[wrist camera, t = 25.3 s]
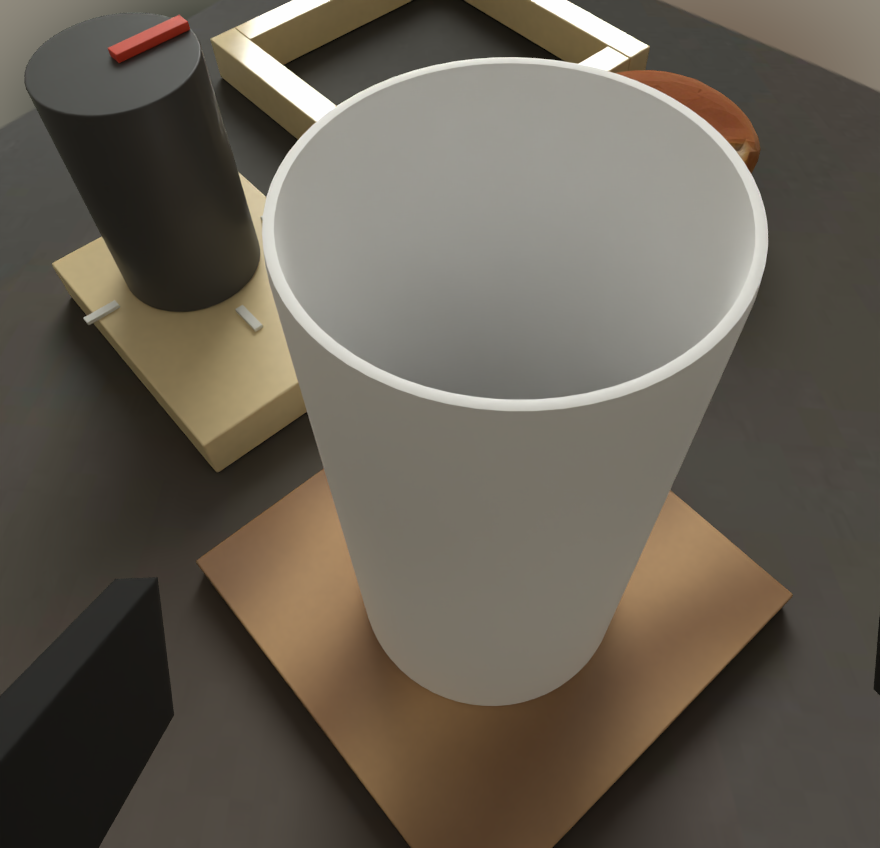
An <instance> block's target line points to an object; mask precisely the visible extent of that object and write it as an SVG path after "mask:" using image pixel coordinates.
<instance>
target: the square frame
mask: <svg viewBox="0 0 880 848" xmlns="http://www.w3.org/2000/svg"><path fill="white" fill-rule="evenodd" d="M410 1H412V0H292V1H290V2H288V3H286V4H284V5H282V6H280V7H277V8H275V9H273V10H271V11H269V12H267V13H265V14H263V15H260V16H258V17H256V18H254V19H252V20H250V21H248V22H245V23H243V24H241V25H239V26H237V27H235V28H233V29H230V30H228V31H226V32H224V33H222V34H220V35H218V36H215V37H213V38H211V43H212V47H213V50H214V54H215V57H216V61H217V64H218V68H219V72H220V75H221V77H222V78H223V79H224V80H226V81H227V82H228V83H229V84H231V85H232V86H233V87H234V88H235V89H237V90H238V91H239V92H240V93H242V94H243V95H244V96H245V97H246V98H248V99H249V100H250V101H251V102H253V103H254V104H255V105H256V106H257V107H259V108H260V109H261V110H262V111H263V112H265V113H266V114H267V115H268V116H270V117H271V118H272V119H273V120H274V121H276V122H277V123H278V124H279V125H281V126H282V127H283V128H284V129H285V130H287V131H288V132H289V133H290V134H292V135H293V136H294V137H295V138H296V139H298V140H299V138H300V137H301V136H302V135H303V134H304V133H305V132H306V131H307V130H308V129H309V128H310V127H311V126H312V125H313V124H315V123H316V122H317V121H318V120H319V119H320V118H322V117H323V116H324V115H325V114H326V113H328V112H329V111H331V110H332V109H334V108H335V107H336V105H335V104H333V103H332V102H331V101H329V100H328V99H327V98H325V97H324V96H323V95H322V94H320V93H319V92H318V91H316V90H315V89H314V88H312V87H311V86H310V85H308V84H307V83H306V82H304V81H303V80H302V79H301V78H299V77H298V76H297V75H295V74H294V73H293V72H291V71H290V70H289V69H287V68H286V67H285V66H283V65H284V64H286V63H288V62H290V61H292V60H294V59H296V58H298V57H300V56H302V55H304V54H306V53H308V52H310V51H312V50H314V49H316V48H318V47H320V46H322V45H324V44H326V43H328V42H330V41H332V40H334V39H336V38H338V37H340V36H342V35H344V34H346V33H348V32H350V31H352V30H354V29H356V28H358V27H360V26H362V25H364V24H366V23H368V22H370V21H372V20H374V19H376V18H378V17H380V16H382V15H384V14H386V13H388V12H390V11H392V10H394V9H396V8H398V7H400V6H402V5H404V4H406V3H408V2H410ZM464 1H466V2H467V3H469V4H471V5H472V6H474V7H476V8H477V9H479V10H481V11H482V12H484V13H486V14H487V15H489V16H491V17H492V18H494V19H496V20H497V21H499V22H501V23H502V24H504V25H505V26H507V27H509V28H510V29H512V30H514V31H515V32H517V33H519V34H520V35H522V36H524V37H525V38H527V39H529V40H530V41H532V42H534V43H535V44H537V45H539V46H540V47H542V48H544V49H545V50H547V51H549V52H550V53H552V54H554V55H555V56H557V57H559V58H560V59H562V60H564V61H565V62H570V63H576V64H581V65H586V66H590V67H595V68H599V69H602V70H606V71H609V72H613V73H618V72H623V71H633V70H645V68H646V64H647V59H648V54H649V49H650V46H648V45H646V44H645V43H643V42H641V41H639V40H637V39H636V38H634V37H632V36H630V35H628V34H627V33H625V32H623V31H621V30H619V29H618V28H616V27H614V26H612V25H611V24H609V23H607V22H605V21H603V20H602V19H600V18H598V17H596V16H594V15H593V14H591V13H589V12H587V11H585V10H584V9H582V8H580V7H578V6H576V5H575V4H573V3H571V2H569V1H567V0H464Z"/></svg>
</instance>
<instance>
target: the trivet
mask: <svg viewBox="0 0 880 848" xmlns="http://www.w3.org/2000/svg"><path fill="white" fill-rule="evenodd" d="M196 563H197V564H198V566H199V567H200V569H201V570H202V571H203V573H204V574H205V576H206V577H207V578H208V579H209V581H210V582H211V583H212V585H213V586H214V587H215V589H216V590H217V591H218V593H219V594H220V595H221V597H222V598H223V599H224V601H225V602H226V603H227V605H228V606H229V607H230V609H231V610H232V611H233V613H234V614H235V615H236V617H237V618H238V619H239V621H240V622H241V623H242V625H243V626H244V627H245V629H246V630H247V631H248V633H249V634H250V635H251V637H252V638H253V639H254V641H255V642H256V643H257V645H258V646H259V647H260V649H261V650H262V651H263V652H264V654H265V655H266V656H267V658H268V659H269V660H270V662H271V663H272V664H273V666H274V667H275V668H276V670H277V671H278V672H279V674H280V675H281V676H282V678H283V679H284V680H285V682H286V683H287V684H288V686H289V687H290V688H291V690H292V691H293V692H294V694H295V695H296V696H297V698H298V699H299V700H300V702H301V703H302V704H303V706H304V707H305V708H306V710H307V711H308V712H309V714H310V715H311V716H312V718H313V719H314V720H315V722H316V723H317V724H318V725H319V727H320V728H321V729H322V731H323V732H324V733H325V735H326V736H327V737H328V739H329V740H330V741H331V743H332V744H333V745H334V747H335V748H336V749H337V751H338V752H339V753H340V755H341V756H342V757H343V759H344V760H345V761H346V763H347V764H348V765H349V767H350V768H351V769H352V771H353V772H354V773H355V775H356V776H357V777H358V779H359V780H360V781H361V783H362V784H363V785H364V787H365V788H366V789H367V791H368V792H369V793H370V795H371V796H372V797H373V798H374V800H375V801H376V802H377V804H378V805H379V806H380V808H381V809H382V810H383V812H384V813H385V814H386V816H387V817H388V818H389V820H390V821H391V822H392V824H393V825H394V826H395V828H396V829H397V830H398V832H399V833H400V834H401V836H402V837H403V838H404V840H405V841H406V842H407V844H408V845H409V846H410V848H553V847H554V846H555V845H556V843H557V842H558V841H559V840H560V839H561V838H562V837H563V836H564V835H565V834H566V833H567V832H568V831H569V830H570V829H571V828H572V827H573V826H574V825H575V824H576V823H577V822H578V820H579V819H580V818H581V817H582V816H583V815H584V814H585V813H586V812H587V811H588V810H589V809H590V808H591V807H592V806H593V805H594V804H595V803H596V802H597V801H598V800H599V799H600V797H601V796H602V795H603V794H604V793H605V792H606V791H607V790H608V789H609V788H610V787H611V786H612V785H613V784H614V783H615V782H616V781H617V780H618V779H619V778H620V777H621V776H622V774H623V773H624V772H625V771H626V770H627V769H628V768H629V767H630V766H631V765H632V764H633V763H634V762H635V761H636V760H637V759H638V758H639V757H640V756H641V755H642V754H643V752H644V751H645V750H646V749H647V748H648V747H649V746H650V745H651V744H652V743H653V742H654V741H655V740H656V739H657V738H658V737H659V736H660V735H661V734H662V733H663V732H664V731H665V729H666V728H667V727H668V726H669V725H670V724H671V723H672V722H673V721H674V720H675V719H676V718H677V717H678V716H679V715H680V714H681V713H682V712H683V711H684V710H685V709H686V708H687V706H688V705H689V704H690V703H691V702H692V701H693V700H694V699H695V698H696V697H697V696H698V695H699V694H700V693H701V692H702V691H703V690H704V689H705V688H706V687H707V686H708V685H709V683H710V682H711V681H712V680H713V679H714V678H715V677H716V676H717V675H718V674H719V673H720V672H721V671H722V670H723V669H724V668H725V667H726V666H727V665H728V664H729V663H730V661H731V660H732V659H733V658H734V657H735V656H736V655H737V654H738V653H739V652H740V651H741V650H742V649H743V648H744V647H745V646H746V645H747V644H748V643H749V642H750V641H751V640H752V638H753V637H754V636H755V635H756V634H757V633H758V632H759V631H760V630H761V629H762V628H763V627H764V626H765V625H766V624H767V623H768V622H769V621H770V620H771V619H772V618H773V617H774V615H775V614H776V613H777V612H778V611H779V610H780V609H781V608H782V607H783V606H784V605H785V604H786V603H787V602H788V601H789V600H790V599H791V598H792V596H793V595H792V593H791V592H789V591H788V590H787V589H786V588H785V587H783V586H782V585H781V584H780V583H779V582H778V581H776V580H775V579H774V578H773V577H772V576H771V575H769V574H768V573H767V572H766V571H765V570H763V569H762V568H761V567H760V566H759V565H758V564H756V563H755V562H754V561H753V560H752V559H751V558H749V557H748V556H747V555H746V554H745V553H743V552H742V551H741V550H740V549H739V548H738V547H736V546H735V545H734V544H733V543H732V542H731V541H729V540H728V539H727V538H726V537H725V536H723V535H722V534H721V533H720V532H719V531H718V530H716V529H715V528H714V527H713V526H712V525H711V524H709V523H708V522H707V521H706V520H705V519H703V518H702V517H701V516H700V515H699V514H698V513H696V512H695V511H694V510H693V509H692V508H691V507H689V506H688V505H687V504H686V503H685V502H683V501H682V500H681V499H680V498H679V497H678V496H676V495H675V494H674V493H673V492H672V491H671V490H670V491H669V493H668V496H667V498H666V500H665V502H664V504H663V507H662V509H661V511H660V513H659V516H658V518H657V520H656V522H655V524H654V527H653V529H652V531H651V533H650V536H649V538H648V540H647V542H646V544H645V547H644V549H643V551H642V553H641V555H640V558H639V560H638V562H637V564H636V567H635V569H634V571H633V573H632V575H631V578H630V580H629V582H628V584H627V586H626V589H625V591H624V593H623V595H622V598H621V600H620V602H619V604H618V606H617V609H616V611H615V613H614V615H613V617H612V620H611V622H610V624H609V626H608V629H607V631H606V633H605V635H604V637H603V640H602V642H601V643H600V645H599V647H598V649H597V650H596V652H595V653H594V655H593V656H592V657H591V659H590V660H589V661H588V663H587V664H586V665H585V666H584V667H583V668H582V669H581V670H580V671H579V672H578V673H577V674H576V675H575V676H573V677H572V678H571V679H570V680H569V681H567V682H566V683H564V684H563V685H561V686H560V687H558V688H557V689H555V690H553V691H551V692H549V693H547V694H545V695H543V696H540V697H538V698H536V699H532V700H529V701H526V702H522V703H517V704H512V705H503V706H480V705H471V704H466V703H461V702H457V701H454V700H451V699H447V698H444V697H442V696H440V695H438V694H435V693H433V692H431V691H429V690H428V689H426V688H424V687H422V686H421V685H419V684H418V683H416V682H415V681H413V680H412V679H411V678H409V677H408V676H407V675H406V674H405V673H404V672H402V671H401V670H400V669H399V668H398V667H397V666H396V664H395V663H394V662H393V661H392V660H391V659H390V657H389V656H388V655H387V654H386V652H385V651H384V649H383V648H382V646H381V645H380V643H379V641H378V640H377V638H376V635H375V633H374V631H373V629H372V627H371V624H370V621H369V618H368V615H367V612H366V608H365V605H364V602H363V598H362V595H361V592H360V588H359V585H358V581H357V578H356V575H355V571H354V568H353V565H352V561H351V558H350V555H349V551H348V548H347V544H346V541H345V538H344V534H343V531H342V528H341V524H340V521H339V518H338V514H337V511H336V507H335V504H334V501H333V497H332V494H331V491H330V487H329V484H328V481H327V477H326V474H325V470H324V469H322V470H321V471H320V472H318V473H317V474H315V475H314V476H313V477H311V478H310V479H309V480H307V481H306V482H304V483H303V484H302V485H300V486H299V487H297V488H296V489H295V490H293V491H292V492H291V493H289V494H288V495H286V496H285V497H284V498H282V499H281V500H279V501H278V502H277V503H275V504H274V505H273V506H271V507H270V508H268V509H267V510H266V511H264V512H263V513H261V514H260V515H259V516H257V517H256V518H254V519H253V520H252V521H250V522H249V523H248V524H246V525H245V526H243V527H242V528H241V529H239V530H238V531H236V532H235V533H234V534H232V535H231V536H230V537H228V538H227V539H225V540H224V541H223V542H221V543H220V544H218V545H217V546H216V547H214V548H213V549H212V550H210V551H209V552H207V553H206V554H205V555H203V556H202V557H200V558H199V559H198V560H197V561H196Z"/></svg>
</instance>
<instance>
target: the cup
mask: <svg viewBox="0 0 880 848" xmlns="http://www.w3.org/2000/svg"><path fill="white" fill-rule="evenodd" d="M262 240H263V251H264V258H265V266H266V271H267V275H268V280H269V284H270V288H271V291H272V294H273V298H274V301H275V305H276V308H277V312H278V315H279V318H280V322H281V325H282V329H283V332H284V335H285V339H286V342H287V346H288V349H289V352H290V356H291V359H292V363H293V366H294V370H295V373H296V376H297V380H298V383H299V386H300V390H301V393H302V397H303V400H304V403H305V407H306V410H307V413H308V417H309V420H310V423H311V427H312V430H313V433H314V437H315V440H316V444H317V447H318V450H319V454H320V457H321V460H322V464H323V467H324V470H325V474H326V477H327V481H328V484H329V487H330V491H331V494H332V497H333V501H334V504H335V507H336V511H337V514H338V518H339V521H340V524H341V528H342V531H343V534H344V538H345V541H346V544H347V548H348V551H349V555H350V558H351V561H352V565H353V568H354V571H355V575H356V578H357V581H358V585H359V588H360V592H361V595H362V598H363V602H364V605H365V608H366V612H367V615H368V618H369V621H370V624H371V627H372V629H373V631H374V633H375V635H376V638H377V640H378V641H379V643H380V645H381V646H382V648H383V649H384V651H385V652H386V654H387V655H388V656H389V657H390V659H391V660H392V661H393V662H394V663H395V664H396V666H397V667H398V668H399V669H400V670H401V671H402V672H404V673H405V674H406V675H407V676H408V677H409V678H411V679H412V680H413V681H415V682H416V683H418V684H419V685H421V686H422V687H424V688H426V689H428V690H429V691H431V692H433V693H435V694H438V695H440V696H442V697H444V698H447V699H451V700H454V701H457V702H461V703H466V704H471V705H480V706H503V705H512V704H517V703H522V702H526V701H529V700H532V699H536V698H538V697H540V696H543V695H545V694H547V693H549V692H551V691H553V690H555V689H557V688H558V687H560V686H561V685H563V684H564V683H566V682H567V681H569V680H570V679H571V678H572V677H573V676H575V675H576V674H577V673H578V672H579V671H580V670H581V669H582V668H583V667H584V666H585V665H586V664H587V663H588V661H589V660H590V659H591V657H592V656H593V655H594V653H595V652H596V650H597V649H598V647H599V645H600V643H601V642H602V640H603V637H604V635H605V633H606V631H607V629H608V626H609V624H610V622H611V620H612V617H613V615H614V613H615V611H616V609H617V606H618V604H619V602H620V600H621V598H622V595H623V593H624V591H625V589H626V586H627V584H628V582H629V580H630V578H631V575H632V573H633V571H634V569H635V567H636V564H637V562H638V560H639V558H640V555H641V553H642V551H643V549H644V547H645V544H646V542H647V540H648V538H649V536H650V533H651V531H652V529H653V527H654V524H655V522H656V520H657V518H658V516H659V513H660V511H661V509H662V507H663V504H664V502H665V500H666V498H667V496H668V493H669V491H670V489H671V487H672V485H673V482H674V480H675V478H676V476H677V473H678V471H679V469H680V467H681V465H682V462H683V460H684V458H685V456H686V454H687V451H688V449H689V447H690V445H691V442H692V440H693V438H694V436H695V434H696V431H697V429H698V427H699V425H700V423H701V420H702V418H703V416H704V414H705V411H706V409H707V407H708V405H709V403H710V400H711V398H712V396H713V394H714V392H715V389H716V387H717V385H718V383H719V380H720V378H721V376H722V374H723V371H724V369H725V367H726V365H727V362H728V360H729V358H730V356H731V353H732V351H733V349H734V347H735V345H736V342H737V340H738V338H739V336H740V333H741V331H742V329H743V327H744V324H745V322H746V320H747V318H748V315H749V313H750V311H751V309H752V306H753V304H754V302H755V299H756V296H757V293H758V289H759V286H760V282H761V279H762V275H763V271H764V268H765V264H766V257H767V250H768V226H767V219H766V213H765V208H764V205H763V201H762V198H761V195H760V192H759V190H758V188H757V185H756V183H755V181H754V178H753V177H752V175H751V173H750V171H749V170H748V168H747V166H746V165H745V163H744V161H743V160H742V159H741V157H740V156H739V155H738V153H737V152H736V151H735V149H734V148H733V147H732V146H731V145H730V144H729V143H728V141H727V140H726V139H725V138H724V137H723V136H722V135H721V134H720V133H719V132H718V131H717V130H716V129H715V128H713V127H712V126H711V125H710V124H709V123H708V122H707V121H706V120H704V119H703V118H701V117H700V116H699V115H697V114H696V113H695V112H693V111H692V110H691V109H689V108H688V107H686V106H685V105H683V104H681V103H680V102H678V101H677V100H675V99H673V98H671V97H670V96H668V95H666V94H664V93H662V92H660V91H658V90H656V89H654V88H652V87H650V86H647V85H645V84H643V83H640V82H638V81H636V80H633V79H630V78H627V77H625V76H622V75H619V74H616V73H613V72H609V71H606V70H602V69H599V68H595V67H590V66H586V65H581V64H576V63H570V62H564V61H558V60H549V59H539V58H520V57H501V58H482V59H470V60H463V61H455V62H449V63H444V64H439V65H434V66H430V67H426V68H422V69H418V70H414V71H411V72H408V73H405V74H402V75H399V76H396V77H393V78H390V79H388V80H386V81H383V82H381V83H378V84H376V85H374V86H372V87H370V88H368V89H366V90H363V91H361V92H359V93H357V94H356V95H354V96H352V97H351V98H349V99H347V100H346V101H344V102H342V103H341V104H339V105H338V106H336V107H335V108H334V109H332V110H331V111H329V112H328V113H326V114H325V115H324V116H323V117H322V118H320V119H319V120H318V121H317V122H316V123H315V124H313V125H312V126H311V127H310V128H309V129H308V130H307V131H306V132H305V133H304V134H303V135H302V136H301V137H300V138H299V140H298V141H297V142H296V143H295V145H294V146H293V147H292V148H291V150H290V151H289V152H288V154H287V155H286V157H285V158H284V160H283V161H282V163H281V165H280V166H279V168H278V170H277V172H276V174H275V176H274V178H273V180H272V182H271V185H270V188H269V191H268V194H267V197H266V202H265V207H264V212H263V221H262Z"/></svg>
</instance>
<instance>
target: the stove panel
mask: <svg viewBox="0 0 880 848" xmlns="http://www.w3.org/2000/svg"><path fill="white" fill-rule="evenodd" d="M238 173H239V172H238ZM239 177H240V180H241V184H242V187H243V190H244V194H245V197H246V201H247V204H248V207H249V211H250V214H251V218H252V221H253V224H254V228H255V231H256V235H257V238H258V241H259V246H260V261H259V264H258V267H257V270H256V272H255V273H254V275H253V277H252V278H251V280H250V281H249V282H248V283H247V284H246V285H245V287H243V288H242V289H241V290H240V291H239V292H238V293H236V294H235V295H233V296H232V297H231V298H229V299H227V300H225V301H223V302H221V303H219V304H217V305H214V306H211V307H208V308H205V309H201V310H196V311H188V312H172V311H165V310H160V309H156V308H153V307H151V306H149V305H147V304H145V303H143V302H142V301H140V300H139V299H137V298H136V297H135V296H134V295H133V294H132V292H131V291H130V290H129V288H128V286H127V284H126V282H125V280H124V278H123V276H122V274H121V272H120V270H119V268H118V267H117V265H116V263H115V261H114V259H113V257H112V255H111V253H110V251H109V249H108V247H107V245H106V243H105V241H104V239H103V237H100V238H98V239H96V240H95V241H93V242H91V243H89V244H87V245H85V246H83V247H82V248H80V249H78V250H76V251H74V252H72V253H70V254H68V255H67V256H65V257H63V258H61V259H59V260H57V261H55V262H54V263H52V266H53V268H54V270H55V271H56V273H57V274H58V276H59V278H60V279H61V281H62V283H63V284H64V286H65V288H66V289H67V291H68V292H69V294H70V296H71V297H72V298H73V299H74V300H75V302H76V303H77V304H78V305H79V307H80V308H81V309H82V310H83V311H84V313H85V314H86V315H87V316H86V317H84V318H83V319H84V320H85V322H86V323H87V324H88V325H90V324H92V323H93V324H94V325H95V326H96V327H97V328H98V330H99V331H100V332H101V333H102V334H103V336H104V337H105V338H106V339H107V340H108V342H109V343H110V344H111V345H112V347H113V348H114V349H115V350H116V351H117V353H118V354H119V355H120V356H121V357H122V359H123V360H124V361H125V362H126V364H127V365H128V366H129V367H130V368H131V370H132V371H133V372H134V373H135V374H136V376H137V377H138V378H139V379H140V380H141V382H142V383H143V384H144V385H145V387H146V388H147V389H148V390H149V391H150V393H151V394H152V395H153V396H154V397H155V399H156V400H157V401H158V402H159V404H160V405H161V406H162V407H163V408H164V410H165V411H166V412H167V413H168V414H169V416H170V417H171V418H172V419H173V420H174V422H175V423H176V424H177V425H178V427H179V428H180V429H181V430H182V431H183V433H184V434H185V435H186V436H187V437H188V439H189V440H190V441H191V442H192V443H193V445H194V446H195V447H196V448H197V450H198V451H199V452H200V453H201V454H202V456H203V457H204V458H205V459H206V460H207V462H208V463H209V464H210V465H211V467H212V468H213V469H214V470H215V471H216V472H220V471H221V470H223V469H224V468H226V467H227V466H228V465H230V464H231V463H233V462H234V461H236V460H237V459H239V458H240V457H242V456H243V455H245V454H246V453H247V452H249V451H250V450H252V449H253V448H255V447H256V446H258V445H259V444H261V443H262V442H263V441H265V440H266V439H268V438H269V437H271V436H272V435H274V434H275V433H277V432H278V431H280V430H281V429H282V428H284V427H285V426H287V425H288V424H290V423H291V422H293V421H294V420H296V419H297V418H298V417H300V416H301V415H303V414H304V413H306V412H307V410H306V407H305V403H304V400H303V397H302V393H301V390H300V386H299V383H298V380H297V376H296V373H295V370H294V366H293V363H292V359H291V356H290V352H289V349H288V346H287V342H286V339H285V335H284V332H283V329H282V325H281V322H280V318H279V315H278V312H277V308H276V305H275V301H274V298H273V294H272V291H271V288H270V284H269V280H268V275H267V271H266V266H265V258H264V251H263V240H262V221H263V212H264V207H265V202H266V197H265V196H264V195H263V194H262V193H261V192H260V191H259V190H258V189H257V188H255V187H254V186H253V185H252V184H251V183H250V182H249V181H248V180H247V179H245V178H244V177H243V176H242V175H241V174H240V173H239Z"/></svg>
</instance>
